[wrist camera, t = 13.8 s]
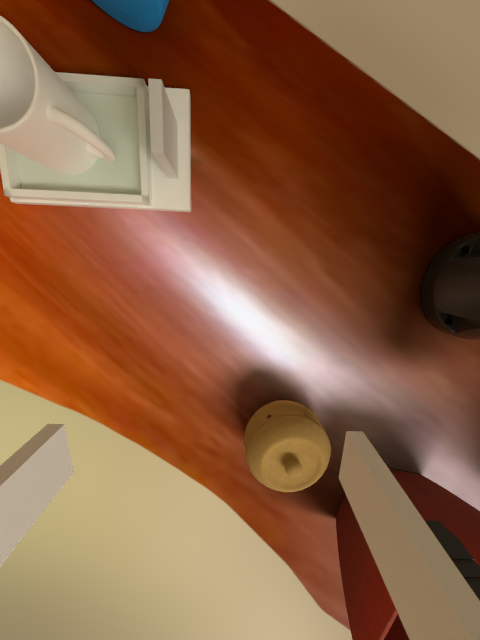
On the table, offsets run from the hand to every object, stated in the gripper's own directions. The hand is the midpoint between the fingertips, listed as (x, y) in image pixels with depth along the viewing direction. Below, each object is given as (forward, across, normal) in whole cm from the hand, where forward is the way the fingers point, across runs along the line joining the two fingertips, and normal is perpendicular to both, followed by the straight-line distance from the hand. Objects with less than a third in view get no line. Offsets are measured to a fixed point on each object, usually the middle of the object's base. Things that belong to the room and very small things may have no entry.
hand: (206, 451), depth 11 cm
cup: (+24, -18, +21) cm, 37 cm away
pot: (+24, +8, -17) cm, 31 cm away
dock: (+25, -16, +21) cm, 36 cm away
